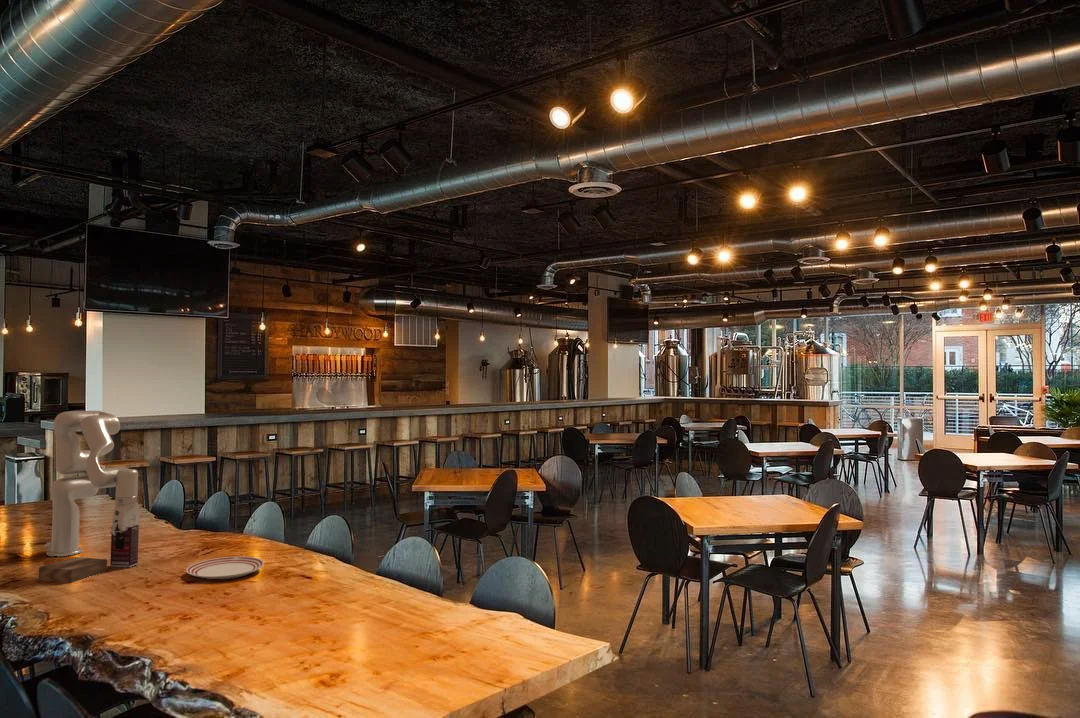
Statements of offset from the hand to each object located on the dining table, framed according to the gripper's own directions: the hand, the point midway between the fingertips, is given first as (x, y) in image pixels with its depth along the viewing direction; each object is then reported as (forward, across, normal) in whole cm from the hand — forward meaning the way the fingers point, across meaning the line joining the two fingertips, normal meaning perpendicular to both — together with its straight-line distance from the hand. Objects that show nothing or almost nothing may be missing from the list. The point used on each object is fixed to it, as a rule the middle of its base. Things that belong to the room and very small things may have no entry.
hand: (124, 546), depth 280 cm
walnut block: (+8, -16, +8) cm, 20 cm away
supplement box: (+8, 0, 0) cm, 8 cm away
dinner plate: (+8, -1, -44) cm, 45 cm away
